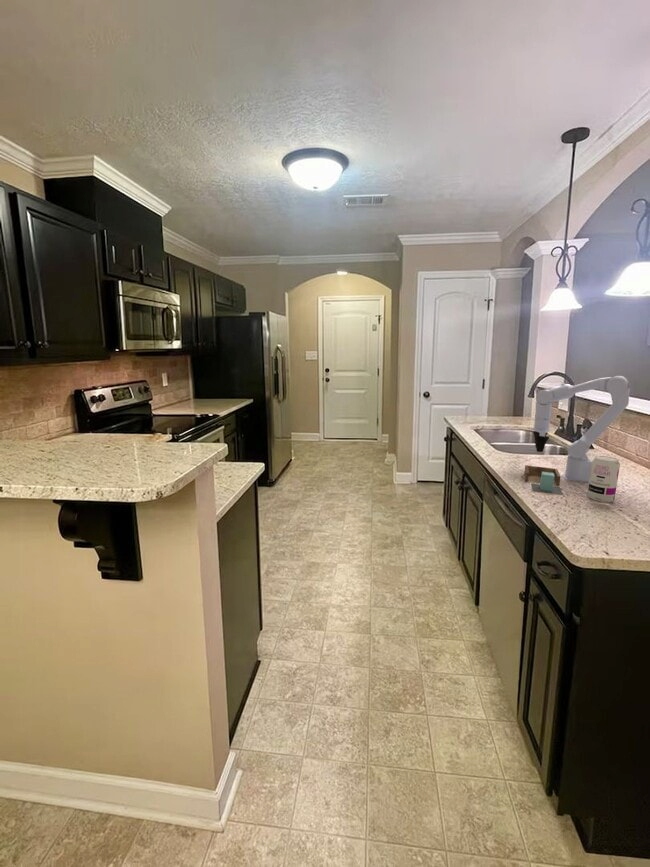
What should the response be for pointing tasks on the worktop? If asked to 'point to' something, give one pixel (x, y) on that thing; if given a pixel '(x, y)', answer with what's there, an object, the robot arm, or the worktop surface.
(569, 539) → the worktop surface
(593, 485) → the supplement can
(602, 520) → the worktop surface
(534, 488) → the slate mat
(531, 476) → the walnut box
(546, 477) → the block
